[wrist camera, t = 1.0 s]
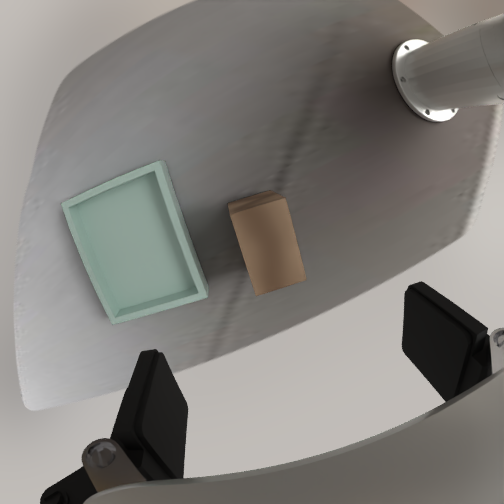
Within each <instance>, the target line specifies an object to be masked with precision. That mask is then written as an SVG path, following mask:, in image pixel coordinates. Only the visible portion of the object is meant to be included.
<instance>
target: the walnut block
mask: <svg viewBox="0 0 504 504" xmlns="http://www.w3.org/2000/svg"><path fill="white" fill-rule="evenodd" d="M228 208H229V213H230V217H231V220H232V223H233V226H234V229H235V232H236V236H237V239H238V242H239V245H240V248H241V251H242V254H243V257H244V261H245V264H246V267H247V270H248V273H249V276H250V279H251V282H252V285H253V288H254V291H255V295H256V296H258V295H261V294H265V293H268V292H271V291H274V290H277V289H280V288H283V287H286V286H289V285H292V284H295V283H298V282H301V281H304V280H306V275H305V271H304V267H303V263H302V259H301V255H300V251H299V247H298V243H297V239H296V235H295V232H294V228H293V224H292V220H291V216H290V213H289V209H288V205H287V202H286V198H285V197H283V196H281V195H279V194H277V193H275V192H273V191H271V190H269V191H266V192H263V193H259V194H256V195H253V196H249V197H246V198H243V199H240V200H237V201H233V202H230V203H228Z"/></svg>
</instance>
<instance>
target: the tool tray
mask: <svg viewBox="0 0 504 504" xmlns="http://www.w3.org/2000/svg"><path fill="white" fill-rule="evenodd" d="M61 205H62V208H63V211H64V214H65V217H66V220H67V223H68V226H69V228H70V231H71V234H72V237H73V239H74V242H75V244H76V247H77V249H78V252H79V254H80V257H81V259H82V262H83V264H84V266H85V269H86V271H87V273H88V275H89V278H90V280H91V282H92V284H93V287H94V289H95V291H96V293H97V295H98V297H99V299H100V301H101V303H102V305H103V307H104V309H105V311H106V313H107V315H108V317H109V319H110V321H111V323H112V325H114V324H118V323H121V322H125V321H129V320H132V319H136V318H139V317H143V316H146V315H150V314H154V313H157V312H160V311H164V310H167V309H171V308H174V307H178V306H181V305H185V304H188V303H191V302H195V301H198V300H201V299H205V298H208V290H209V286H208V284H207V281H206V278H205V276H204V273H203V270H202V268H201V265H200V262H199V260H198V257H197V254H196V251H195V249H194V246H193V243H192V240H191V237H190V235H189V232H188V229H187V226H186V223H185V220H184V217H183V215H182V212H181V209H180V206H179V203H178V200H177V197H176V194H175V191H174V188H173V185H172V182H171V179H170V176H169V172H168V169H167V166H166V163H165V161H160V160H159V161H157V162H154V163H151V164H149V165H146V166H144V167H141V168H139V169H136V170H134V171H131V172H129V173H126V174H124V175H122V176H119V177H117V178H115V179H112V180H110V181H108V182H105V183H103V184H101V185H99V186H97V187H94V188H92V189H90V190H88V191H86V192H84V193H82V194H79V195H77V196H75V197H73V198H71V199H69V200H67V201H65V202H63V203H61Z"/></svg>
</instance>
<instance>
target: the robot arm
mask: <svg viewBox="0 0 504 504" xmlns="http://www.w3.org/2000/svg"><path fill="white" fill-rule="evenodd" d="M392 70H393V76H394V79H395V83H396V85H397V88H398V90H399V92H400V94H401V95H402V97H403V99H404V100H405V102H406V103H407V104H408V106H409V107H410V108H411V109H412V110H413V111H414V112H415V113H417V114H418V115H419V116H421V117H422V118H424V119H426V120H429V121H432V122H442V121H447V120H449V119H451V118H452V117H453V116H454V115H455V114H456V112H457V111H458V108H466V107H475V106H484V105H495V104H504V14H501V15H498V16H495V17H492V18H490V19H487V20H485V21H482V22H479V23H476V24H473V25H471V26H468V27H465V28H463V29H460V30H458V31H455V32H453V33H451V34H448V35H446V36H443V37H441V38H439V39H436V40H434V41H432V42H430V43H428V42H426V41H423V40H419V39H411V40H408V41H405V42H404V43H402V44H400V45H399V46H398V47H397V49H396V50H395V52H394V55H393V59H392ZM487 330H488V328H487V327H486V326H484V325H483V324H482V323H480V322H479V321H478V320H476V319H475V318H474V317H472V316H471V315H469V314H468V313H467V312H465V311H464V310H463V309H461V308H460V307H458V306H457V305H456V304H454V303H453V302H451V301H450V300H449V299H447V298H446V297H444V296H443V295H441V294H440V293H438V292H437V291H436V290H434V289H433V288H431V287H430V286H428V285H427V284H425V283H424V282H418V283H415V284H412V285H409V286H408V289H407V290H406V291H405V297H404V321H403V337H402V349H403V352H404V353H405V355H406V356H407V357H408V358H409V359H410V360H411V362H412V363H413V364H414V365H415V366H416V367H417V368H418V369H419V371H420V372H421V373H422V374H423V375H424V377H425V378H426V379H427V380H428V381H429V382H430V384H431V385H432V386H433V387H434V388H435V389H436V391H437V392H438V393H439V394H440V396H441V397H442V398H443V399H444V400H445V401H446V402H445V403H444V404H442V405H440V406H438V407H436V408H434V409H432V410H431V411H429V412H427V413H425V414H423V415H421V416H418V417H416V418H415V419H412V420H410V421H408V422H406V423H404V424H401V425H399V426H397V427H395V428H392V429H390V430H388V431H385V432H383V433H380V434H378V435H375V436H373V437H370V438H368V439H365V440H362V441H360V442H357V443H354V444H351V445H348V446H346V447H343V448H339V449H336V450H333V451H330V452H327V453H323V454H320V455H316V456H313V457H309V458H305V459H302V460H298V461H294V462H290V463H286V464H281V465H277V466H271V467H266V468H261V469H256V470H250V471H244V472H238V473H230V474H224V475H215V476H206V477H197V478H183V475H184V458H185V444H186V430H187V418H188V406H187V402H186V400H185V398H184V397H183V394H182V392H181V390H180V388H179V386H178V384H177V382H176V380H175V378H174V376H173V374H172V372H171V369H170V367H169V365H168V363H167V361H166V358H165V356H164V354H163V353H162V352H158V351H157V350H156V349H154V350H147V351H142V352H141V353H140V355H139V358H138V361H137V364H136V366H135V369H134V372H133V375H132V378H131V381H130V383H129V386H128V388H127V389H126V391H125V394H124V397H123V400H122V403H121V406H120V409H119V412H118V415H117V418H116V422H115V424H114V428H113V432H112V434H111V437H110V439H107V438H103V439H98V440H95V441H93V442H92V443H91V444H89V445H88V446H87V447H86V448H85V449H84V451H83V454H82V463H83V467H81V468H80V469H78V470H77V471H75V472H74V473H72V474H71V475H69V476H67V477H65V478H64V479H62V480H61V481H59V482H57V483H56V484H54V485H52V486H51V487H49V488H48V489H46V490H45V492H44V493H43V494H42V496H41V499H40V504H504V328H499V329H496V330H494V331H493V332H492V333H491V335H490V336H489V335H488V334H487Z"/></svg>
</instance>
